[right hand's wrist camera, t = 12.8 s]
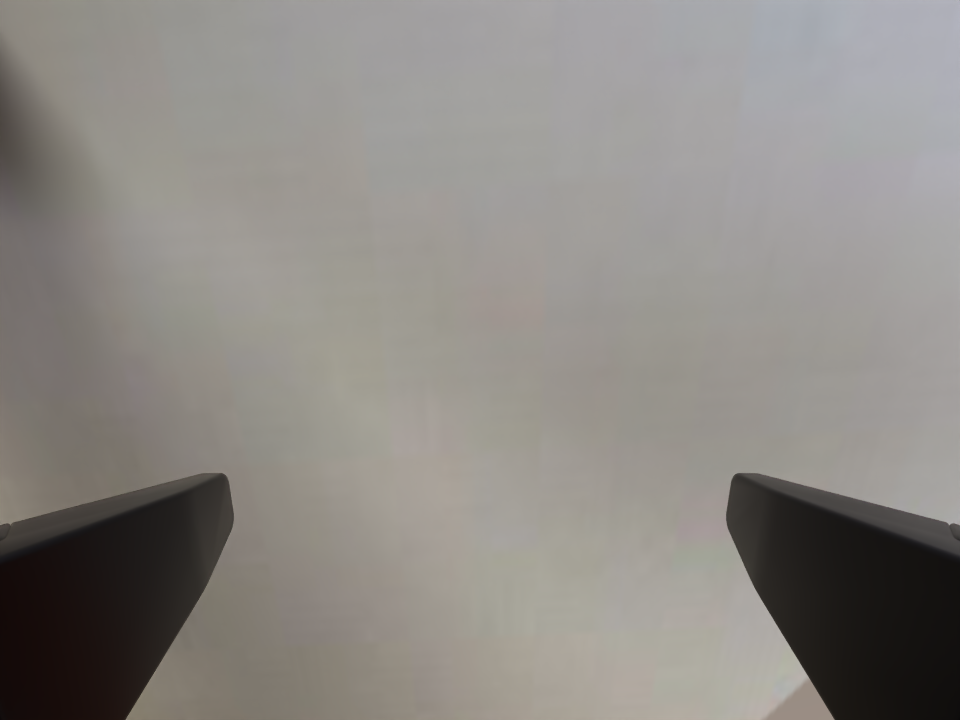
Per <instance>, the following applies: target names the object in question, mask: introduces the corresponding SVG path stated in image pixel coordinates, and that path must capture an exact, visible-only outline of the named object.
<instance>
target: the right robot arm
mask: <svg viewBox="0 0 960 720" xmlns="http://www.w3.org/2000/svg"><path fill="white" fill-rule="evenodd" d="M233 521H234V513H233V506H232V500H231V493H230V487H229V481H228V478H227V476H226V475H225V474H222V473H203V474H198V475H195V476H191V477H187V478H183V479H179V480H175V481H171V482H168V483H164V484H160V485H156V486H152V487H148V488H145V489H141V490H137V491H133V492H129V493H125V494H121V495H118V496H114V497H110V498H106V499H102V500H98V501H95V502H91V503H87V504H83V505H79V506H75V507H71V508H68V509H64V510H60V511H56V512H52V513H48V514H45V515H41V516H37V517H33V518H29V519H25V520H21V521H18V522H14V523H12V525H11V526H10V524H3V525H0V720H125V719H126V718H127V716H128V715H129V713H130V711H131V710H132V708H133V706H134V705H135V703H136V701H137V700H138V698H139V696H140V695H141V693H142V692H143V690H144V688H145V687H146V685H147V683H148V682H149V680H150V678H151V677H152V675H153V674H154V672H155V670H156V669H157V667H158V665H159V664H160V662H161V660H162V659H163V657H164V655H165V654H166V652H167V651H168V649H169V647H170V646H171V644H172V642H173V641H174V639H175V637H176V636H177V634H178V632H179V631H180V629H181V628H182V626H183V624H184V623H185V621H186V619H187V618H188V616H189V614H190V613H191V611H192V610H193V608H194V606H195V605H196V603H197V601H198V600H199V598H200V596H201V594H202V593H203V591H204V589H205V587H206V585H207V583H208V581H209V579H210V577H211V575H212V572H213V570H214V568H215V566H216V563H217V561H218V559H219V557H220V554H221V552H222V550H223V548H224V545H225V543H226V541H227V539H228V536H229V534H230V532H231V530H232V526H233ZM726 521H727V526H728V530H729V532H730V534H731V536H732V539H733V541H734V543H735V545H736V548H737V550H738V552H739V554H740V557H741V559H742V561H743V563H744V566H745V568H746V570H747V572H748V575H749V577H750V579H751V581H752V583H753V585H754V587H755V589H756V591H757V593H758V594H759V596H760V598H761V600H762V601H763V603H764V605H765V606H766V608H767V610H768V611H769V613H770V614H771V616H772V618H773V619H774V621H775V623H776V624H777V626H778V628H779V629H780V631H781V632H782V634H783V636H784V637H785V639H786V641H787V642H788V644H789V646H790V647H791V649H792V651H793V652H794V654H795V655H796V657H797V659H798V660H799V662H800V664H801V665H802V667H803V669H804V670H805V672H806V673H807V675H808V677H809V678H810V680H811V682H812V683H813V685H814V687H815V688H816V690H817V692H818V693H819V695H820V696H821V698H822V700H823V701H824V703H825V705H826V706H827V708H828V710H829V711H830V713H831V714H832V716H833V718H834V719H835V720H960V525H957V524H950V526H949V524H948V523H946V522H942V521H939V520H935V519H931V518H927V517H923V516H919V515H916V514H912V513H908V512H904V511H900V510H896V509H892V508H889V507H885V506H881V505H877V504H873V503H869V502H866V501H862V500H858V499H854V498H850V497H846V496H842V495H839V494H835V493H831V492H827V491H823V490H819V489H816V488H812V487H808V486H804V485H800V484H796V483H792V482H789V481H785V480H781V479H777V478H773V477H769V476H766V475H762V474H757V473H738V474H735V475H734V476H733V478H732V481H731V487H730V493H729V500H728V506H727V513H726Z"/></svg>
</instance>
